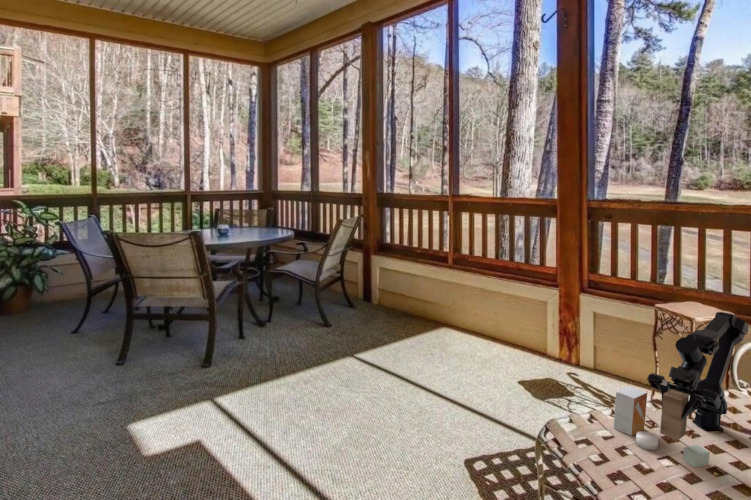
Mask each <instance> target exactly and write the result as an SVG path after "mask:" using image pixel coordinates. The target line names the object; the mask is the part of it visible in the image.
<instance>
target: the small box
mask: <svg viewBox="0 0 751 500" xmlns="http://www.w3.org/2000/svg"><path fill="white" fill-rule="evenodd" d="M647 401H648V392H647V391H644V390H641V389H638V388H637V387H633V386H631V385H629V386H626V387H624V388H621V389H620V390H617V391H616V392H615V403H614V404H615V405H614V417H613V419H614V421H613V428H614V429H615V430H617V431H619V432H622V433H623V434H626V435H628V436H634V435H636V433H637V432H639V431H643V430H645V425H646V423H645V421H646V411H647Z"/></svg>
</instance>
